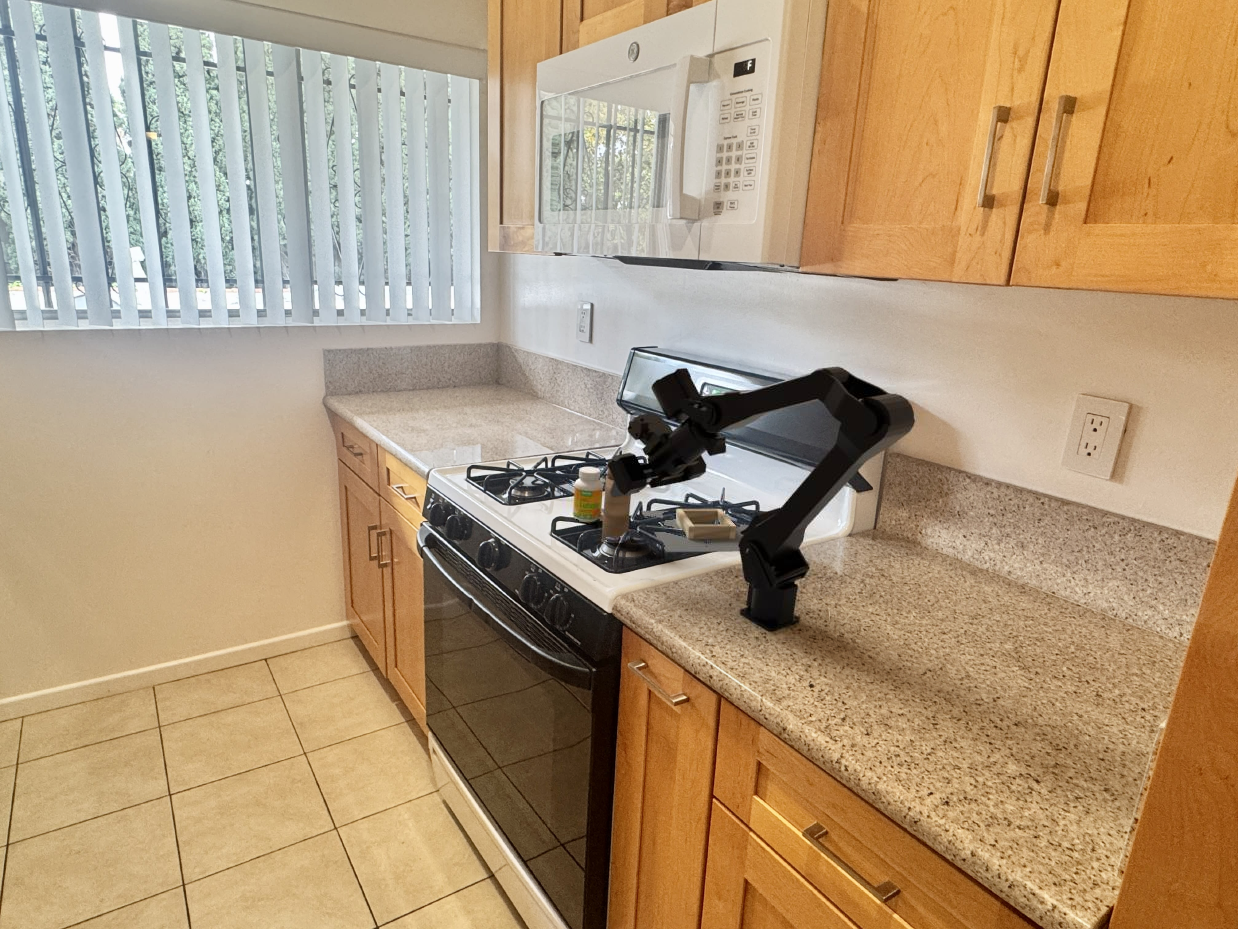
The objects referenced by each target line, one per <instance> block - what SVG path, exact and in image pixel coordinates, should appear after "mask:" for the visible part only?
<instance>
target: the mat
mask: <svg viewBox="0 0 1238 929" xmlns="http://www.w3.org/2000/svg"><path fill="white" fill-rule="evenodd" d="M668 511H669V510H641V514H643V516H644V517H645V516H650V515H651V516H654V517H655V516H656V517H660V518H663V515H662V514H663V513H664V512H668ZM692 524H712V523H692ZM664 525H666V526H672V527H674V528H677V529H680V527H679V526H678V524H677V523H676V521H675V519H673V520H665V522H664ZM748 526H749V525H745V524H744V525H743V524H741V525H740V527H738V528H736V534H735V539H712V540H711V541H708V542H711V543H709V544H708V542H707V544H706V543H704V542H705V541H702V542H701V541H700V540H699V539H687V538H686V537H685V538H684V537H682V536H678V535H674V534H671V533H666V532H654V531H653V533H654V535H655V536H656V538H657V539H659V540H660V541H662V542H663V543H664V545H665V547H664V548H663V549H664V551H665V553H702V552H705V553H706V552H707V553H710V552H711V553H713V552H715V553H717V552H718V553H719V552H740V550H739V547H738V544H739V541H740V539H741V537H742V536H743V535H742V534H741V533H740V532H741V531H743V530H745V529H746V528H747V527H748ZM659 540H658V541H659ZM660 541H659V542H660ZM706 546H707V547H706Z"/></svg>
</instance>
